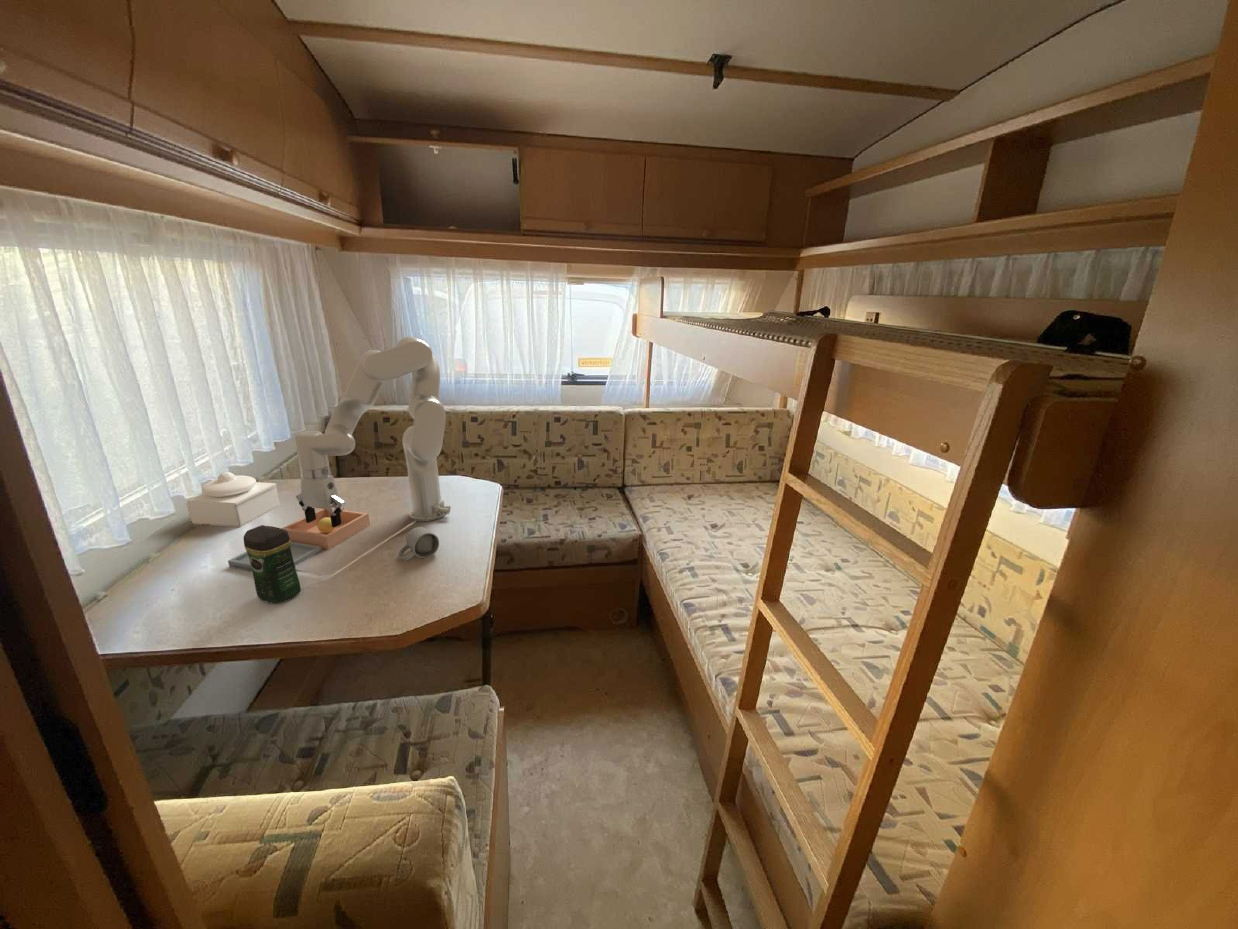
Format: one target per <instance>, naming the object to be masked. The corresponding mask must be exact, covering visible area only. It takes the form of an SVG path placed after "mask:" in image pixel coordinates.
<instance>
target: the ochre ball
mask: <svg viewBox="0 0 1238 929" xmlns="http://www.w3.org/2000/svg"><path fill="white" fill-rule="evenodd" d="M317 527H318V530H319V531H320V532H322V533H330V532H332V531H333V530H334V529H335V528H334V527H332V524H331V518H329V517H325V518H322V519H321V520H320V521H319V522H318V525H317Z"/></svg>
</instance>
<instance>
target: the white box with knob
mask: <svg viewBox="0 0 1238 929" xmlns="http://www.w3.org/2000/svg"><path fill="white" fill-rule="evenodd" d="M277 486H278V484H277V483H274V482H259V481H258V482H257V480H256V479H255V477H252V476H250V475H249V476H248V475H243V474H240V475H235V474H234V473H232V472H230V471H225V472H221V473H220V474H219V475H218V477H217V478H215V479H213V480H210V481H208V482H207V483H205V484H204V485H203V486H202V487H201V488H202V492H201V493H202V495H201V496H197V497H195V498H193V499H191V500H187V499H186V500H187V507H186V509H187V508H188V510H187V513H188V512H189V513H188V516H190V517H189V520H190V519H191V520H190V522H191V521H192V523H193V524H192V523H191V524H192V525H202V524H205V526H206V524H210V525H209V526H216V527H217V526H218V527H219V526H221V527H235V528H242V527H244V526H245V525H247V524H249V523H251V522H253V521H254V520H256V519H258V518H260V517H262V516H264V515H266V514H268V513H269V512H271V511H273V510H275V509H277V508H279V507H280V506H281V503H280V498H279V494H278V489H277Z"/></svg>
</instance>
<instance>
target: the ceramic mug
mask: <svg viewBox="0 0 1238 929" xmlns="http://www.w3.org/2000/svg"><path fill="white" fill-rule="evenodd" d="M405 543H406V544H405V545H404V546H402V548H401V549H400V550H399V551H398V553H397V554H398V557H399V558H400V560H402V561H408V560H410V559H413V558H414V557H415V556H416V557H417V558H418V559H419V558H420V559H428V558H431V557H432V556H434V555H435V554H436V553H437V551H438V549H439V547H440V539H439V537H438V536H437V535H436V534H435V533H433V532H432V531H431V530H429V529H428V528H425V527H424V526H423V527H422V526H417V527H413V528H412V529H410V531H408V532H407V534H406V537H405ZM408 550H411V552H408V553H407V554H405V555H403V554H404V553H406V551H408Z"/></svg>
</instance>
